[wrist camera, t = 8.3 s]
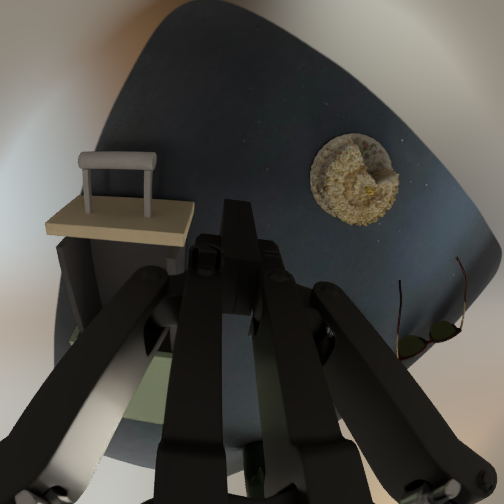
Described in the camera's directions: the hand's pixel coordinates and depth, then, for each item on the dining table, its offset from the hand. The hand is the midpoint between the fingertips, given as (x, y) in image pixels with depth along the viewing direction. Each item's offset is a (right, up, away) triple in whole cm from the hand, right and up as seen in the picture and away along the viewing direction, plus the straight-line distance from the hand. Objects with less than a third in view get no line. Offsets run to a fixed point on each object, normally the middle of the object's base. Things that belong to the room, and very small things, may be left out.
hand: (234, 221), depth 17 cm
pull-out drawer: (-12, -1, +13) cm, 18 cm away
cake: (+12, +6, +12) cm, 18 cm away
